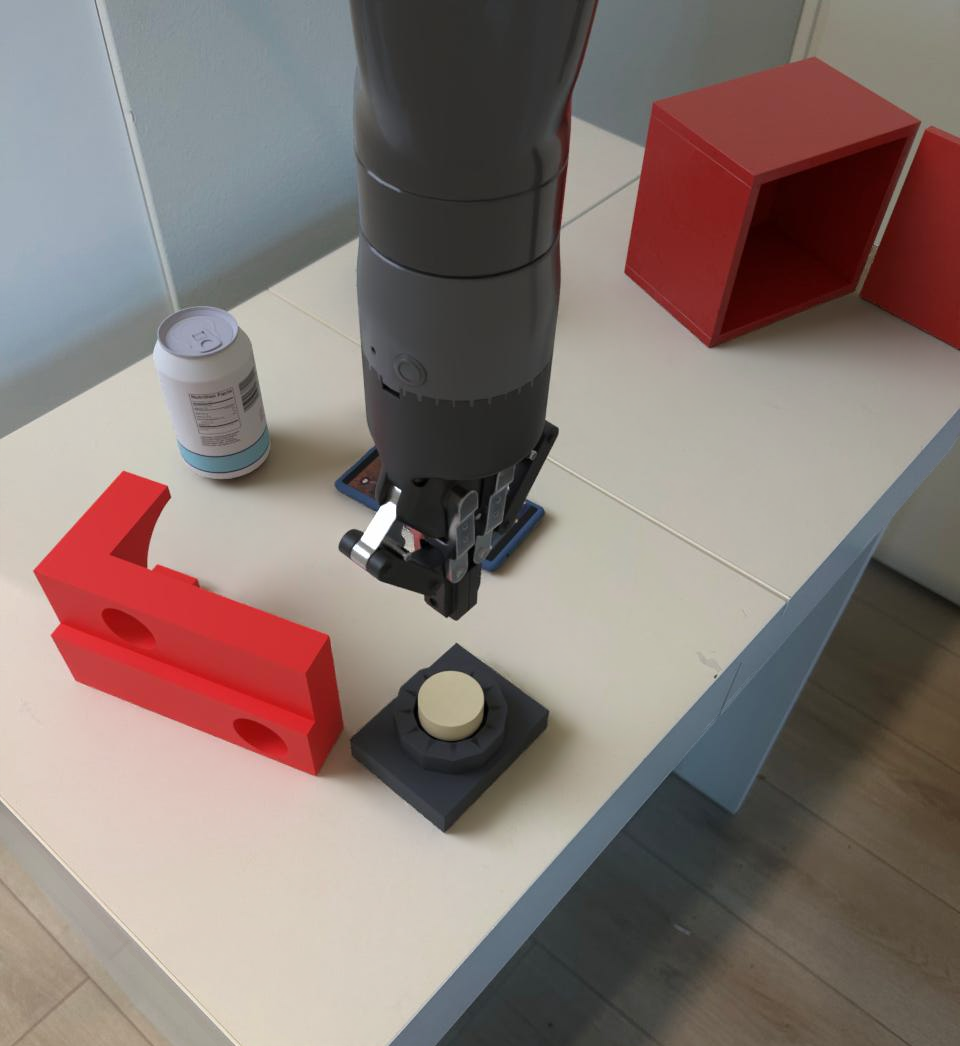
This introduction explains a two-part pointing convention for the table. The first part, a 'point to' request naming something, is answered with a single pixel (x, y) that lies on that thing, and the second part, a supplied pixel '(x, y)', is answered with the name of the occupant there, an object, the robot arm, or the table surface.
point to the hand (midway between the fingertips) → (451, 604)
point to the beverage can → (212, 392)
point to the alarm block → (448, 742)
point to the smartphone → (362, 488)
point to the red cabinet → (763, 195)
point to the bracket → (185, 638)
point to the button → (450, 705)
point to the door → (923, 243)
